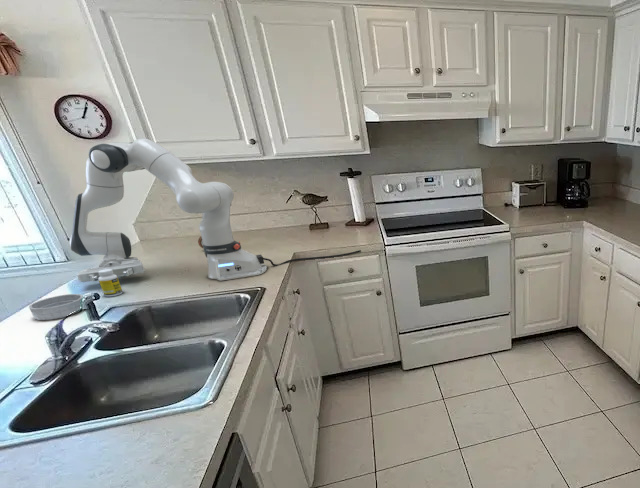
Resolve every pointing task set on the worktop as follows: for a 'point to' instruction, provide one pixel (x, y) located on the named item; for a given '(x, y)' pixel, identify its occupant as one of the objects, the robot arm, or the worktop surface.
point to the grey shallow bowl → (55, 307)
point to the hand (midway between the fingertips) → (110, 276)
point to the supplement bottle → (109, 283)
